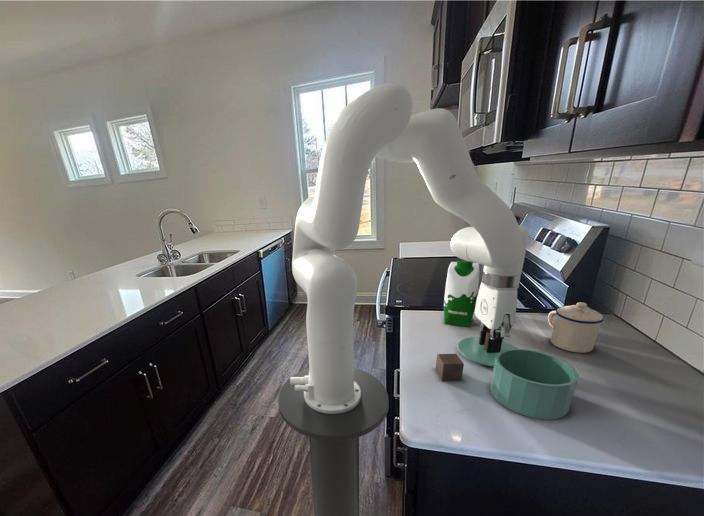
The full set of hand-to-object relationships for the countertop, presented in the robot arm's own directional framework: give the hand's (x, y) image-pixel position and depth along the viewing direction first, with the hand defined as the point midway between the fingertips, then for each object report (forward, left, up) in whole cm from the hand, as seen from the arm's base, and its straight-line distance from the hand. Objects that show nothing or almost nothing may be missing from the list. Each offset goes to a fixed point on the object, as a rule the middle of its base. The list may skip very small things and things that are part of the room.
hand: (489, 347), depth 80 cm
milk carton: (0, +20, -2) cm, 20 cm away
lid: (0, 0, -1) cm, 1 cm away
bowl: (0, -17, -2) cm, 17 cm away
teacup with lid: (+22, +5, -2) cm, 23 cm away
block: (-13, -9, -2) cm, 16 cm away
